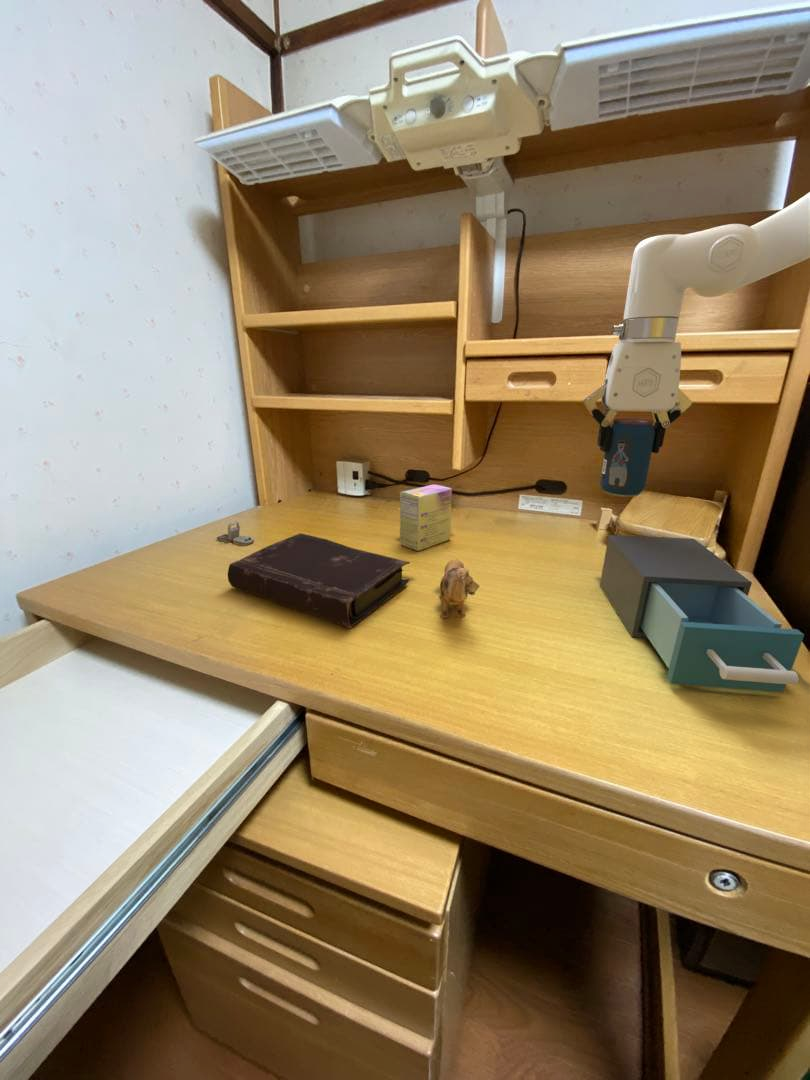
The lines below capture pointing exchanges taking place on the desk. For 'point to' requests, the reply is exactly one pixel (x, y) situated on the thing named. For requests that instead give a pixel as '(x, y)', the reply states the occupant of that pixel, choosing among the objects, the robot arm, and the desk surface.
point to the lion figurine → (456, 587)
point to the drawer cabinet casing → (658, 572)
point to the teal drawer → (718, 638)
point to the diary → (320, 577)
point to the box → (425, 516)
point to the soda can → (628, 457)
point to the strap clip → (235, 536)
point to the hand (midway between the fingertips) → (628, 450)
